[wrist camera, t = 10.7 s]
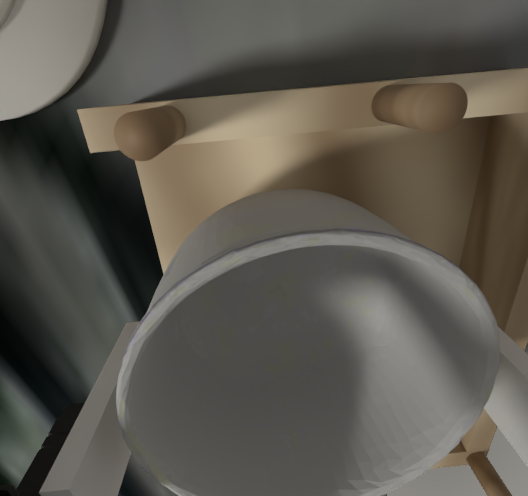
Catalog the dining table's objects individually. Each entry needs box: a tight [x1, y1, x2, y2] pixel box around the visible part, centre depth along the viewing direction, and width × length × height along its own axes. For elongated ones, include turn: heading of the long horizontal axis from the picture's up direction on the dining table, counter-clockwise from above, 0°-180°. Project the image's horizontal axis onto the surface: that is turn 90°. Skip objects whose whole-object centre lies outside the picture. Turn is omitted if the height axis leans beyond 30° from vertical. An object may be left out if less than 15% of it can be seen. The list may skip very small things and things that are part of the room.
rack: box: [77, 68, 528, 496], centre depth 14 cm, size 16×19×8 cm
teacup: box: [116, 189, 500, 496], centre depth 13 cm, size 14×11×8 cm
